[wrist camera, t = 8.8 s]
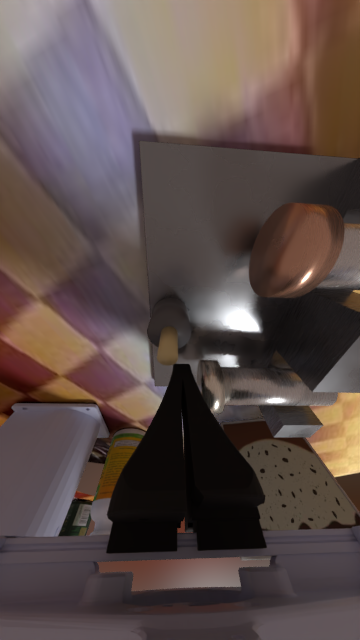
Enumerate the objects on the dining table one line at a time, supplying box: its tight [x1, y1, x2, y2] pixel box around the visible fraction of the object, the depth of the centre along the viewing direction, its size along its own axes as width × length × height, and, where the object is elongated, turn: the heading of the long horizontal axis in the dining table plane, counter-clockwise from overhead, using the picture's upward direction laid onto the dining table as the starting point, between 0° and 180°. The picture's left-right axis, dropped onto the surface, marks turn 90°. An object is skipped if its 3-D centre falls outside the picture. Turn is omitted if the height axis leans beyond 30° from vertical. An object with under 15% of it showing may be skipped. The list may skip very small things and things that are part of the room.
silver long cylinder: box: [197, 360, 338, 413], centre depth 11 cm, size 9×4×4 cm, turn 87°
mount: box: [139, 141, 360, 437], centre depth 9 cm, size 13×17×5 cm
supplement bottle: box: [90, 428, 146, 536], centre depth 18 cm, size 5×5×10 cm
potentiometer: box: [147, 298, 191, 366], centre depth 9 cm, size 3×3×4 cm
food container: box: [221, 418, 360, 560], centre depth 17 cm, size 12×6×10 cm, turn 99°
